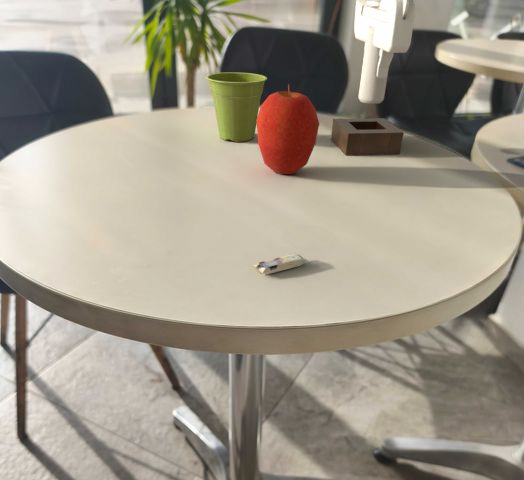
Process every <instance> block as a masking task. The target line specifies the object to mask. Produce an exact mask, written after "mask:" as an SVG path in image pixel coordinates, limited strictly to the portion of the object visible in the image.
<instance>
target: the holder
mask: <svg viewBox="0 0 524 480" xmlns="http://www.w3.org/2000/svg"><path fill="white" fill-rule="evenodd" d="M404 133H405V132H404V131H402V129H400V128H399V127H397V126H395V125H394V124H393V123H391V122H390V121H389V120H387V119H386V118H385V117H373V118H371V117H369V118H365V117H364V118H333V119H332V125H331V135H330V140H331V141H332V142H333V143H334V144H335V146H336V147H337V148H338V149H339V150H340V151H341V152H342V153H343V154H344V155H345V156H374V155H376V156H377V155H378V156H379V155H380V156H381V155H400V154H401V150H402V144H403V138H404Z"/></svg>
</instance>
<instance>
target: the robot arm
mask: <svg viewBox="0 0 524 480" xmlns="http://www.w3.org/2000/svg"><path fill="white" fill-rule="evenodd" d="M415 11H416V4H415V0H355V9H354V23H353V31H354V38H355V39H356V40H359V41H361V42H363V43H364V44H365V43H366V36H367V31H368V27H369V26H370V27H371V28H375V29H374V38H373V45H374V46H375V47H377V48H380V52H379V56H380V59H379V62H378V66H376V72H375V76H376V77H378V78H386V76H387V72H388V73H389V70H388V67H389V68H390V65H391V62H392V60H393V58H394V54H406V53H407V52H408V51H409V49H410V47H411V43H412V36H413V29H414V21H415ZM363 47H364V49H363V51H365V46H363ZM387 77H388V76H387Z"/></svg>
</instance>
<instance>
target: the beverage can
mask: <svg viewBox="0 0 524 480" xmlns="http://www.w3.org/2000/svg"><path fill="white" fill-rule="evenodd" d="M374 29H375V28H371V27H370V26H369V27H368V31H367V36H366V43H365V42H364V47H365V51H364V50H363V51H364V52H363V61H362V68H361V74H360V83H359V90H358V100H359V101H360V102H361V103H364V104H370V105H378V104H381V103H383V101H384V100H385V94H386V88H387V82H388V76H389V69H390V66H389V67H388V72H387V76H386V78H378V77H376V76H375V72H376V66H378V62H379V59H380V56H379V52H380V48H377V47H375V46H374V45H373V38H374Z"/></svg>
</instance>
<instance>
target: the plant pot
mask: <svg viewBox="0 0 524 480" xmlns="http://www.w3.org/2000/svg"><path fill="white" fill-rule="evenodd" d="M205 79H206V80H207V81H208V83H209V88H210V93H211V95H212V99H213V105H214V112H215V117H216V123H217V128H218V134H219V138H220V139H222V140H224V141H227V140H228V141H229V140H230V141H232V142H236V143H240V142H248V141H251V140H252V139H254V138H255V134H256V130H257V121H256V120H257V117H258V114H259V111H260V104H261V98H262V95H263V91H264V86H265V82H266V81H267V80H268V77H267V76H266V75H263V74H258V73H252V72H234V71H232V72H231V71H229V72H216V73H210V74H207V75H206V76H205Z"/></svg>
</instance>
